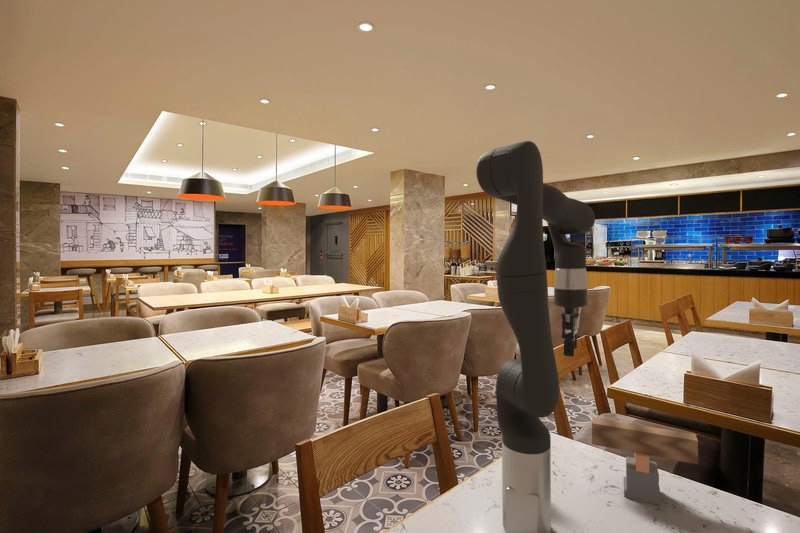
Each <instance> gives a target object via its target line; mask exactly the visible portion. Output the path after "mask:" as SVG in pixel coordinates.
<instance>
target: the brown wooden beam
mask: <svg viewBox="0 0 800 533" xmlns="http://www.w3.org/2000/svg"><path fill="white" fill-rule="evenodd" d="M591 445H594V446H600V447H605V448H610V449H616V450H621V451H626V452H631V453H634V454H635V453H640V454H646V455H649V456H652V457H656V458H663V459H666V460H667V459H668V460H673V461H679V462H682V463H688V464H694V465H698V464H699V440H698V438H697V435H696V433H690V432H683V431H680V430H679V431H678V430H672V429H666V428H659V427H653V426H647V425H643V424H642V425H640V424H634V423H629V422H624V421H616V420H611V419H604V418H598V417H592V419H591Z"/></svg>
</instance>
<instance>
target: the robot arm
mask: <svg viewBox="0 0 800 533" xmlns="http://www.w3.org/2000/svg"><path fill="white" fill-rule="evenodd" d="M476 179H477V182H478V185H479V186H480V189H481V190H482V191H483V192H484V193H485V194H487V196H490V197H493V198H495V199H498V200H502V201H505V202H507V203H510V204H512V205H516V215H515V220H514V223H513V226H512V229H511V231H510V233H509V235H508V237H507V240H506V241H505V243H504V245H503V247H502V249H501V251H500V253H499V256H498V258H497V262H496V264H495V274H496V288H497V295H498V296H497V297H498V301H499V305H500V307H501V309H502V311H503V314H504V315H505V318H506V320H507V322H508V324H509V325H510V328H511V330H512V332H513V334H514V336H515V338H516V341H517V343H518V349H519V354H520V359H517V358H515V359H510V360H508V361H506V362H505V363H503V364H502V366H501V367H500V369H499V371H498V373H497V376H496V383H495V400H496V417H497V424H498V425H497V426H498V428H499V431H500V433H502V435H501V463H502V464H501V480H502V482H501V483H502V487H501V488H502V489H501V491H502V494H501V495H502V503H501V504H502V526H503V529H504V530H505V533H552V504H551V503H552V499H551V498H552V496H551V495H552V487H551V484H552V482H551V481H552V480H551V478H552V477H551V476H552V474H551V470H552V469H551V466H552V465H551V464H552V463H551V460H552V459H551V457H552V456H551V453H552V452H551V450H552V448H551V447H552V445H551V440H552V438H551V433H550V431H549V429H548V427H547V426H546V424H544V422H543V421H542V420H541V418H547V417H549V416H550V415H551V414H553V413H554V411H555V409H556V408H557V405H558V403H559V399H560V398H559V397H560V378H559V372H558V367H557V361H556V356H555V355H556V354H555V351H554V345H553V339H552V338H553V337H552V329H551V319H550V308H549V306H550V305H549V290H548V289H549V288H548V287H549V286H548V273H547V263H546V262H547V261H546V254H545V242H544V240H545V239H544V227H543V226H544V224H543V222H544V221H546V222H547V227H548V228H547V229H548V231H549V234H550V238H551V241H552V244H553V245H552V246H553V249H554V262H555V263H554V268H555V269H554V275H553V276H554V277H553V279H554V280H553V285H554V286H553V291H554V292H553V302H554V303H553V304H554V305H555V306H557V307H561V308H562V307H563V308H564V312H562V313H561V315H560V320H561V338H562V340H563V356H565V357H574V356H575V349H577V348H578V333H579V328H580V319H581V318H580V317H581V313H580V312H579V311H580V310H579V308H585V307H587V306H588V274H587V273H588V272H587V250H586V247H585V246H584V245H583V244H579V243H574V242H571V241H569V239H568V238H567V235H582V234H586V233H587V232H590V231H591V230H592V228H593V227H594V225H595V221H596V217H595V216H596V215H595V212H594V210H593V209H592V207H591V205H590V206H589V205H588V204H587V203H585V202H583V201H581V200H578V199H575V198H571V197H568V196H567V195H566V194H564V192H562V191H561V190H560V189H558V188H557V187H556V186H553V185H550V184H548V183H544V170H543V160H542V155H541V152H540V150H539V147H538V146H537V145H536V143H535V142H533V141H531V140H523V141H519V142H515V143H512V144H508V145H504V146H500V147H497V148H492V149H489V150H487V151H486V152H483V154H482V155H480V157H479V158H478V159H477V163H476Z"/></svg>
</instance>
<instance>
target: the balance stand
mask: <svg viewBox="0 0 800 533" xmlns="http://www.w3.org/2000/svg"><path fill="white" fill-rule="evenodd" d="M623 497H624V498H628V499H632V500H637V501H641V502H645V503H649V504H652V505H653V504H654V505H658V506H662V505H663V504H662V501H663V500H662V495H661V490H660V474H659V470H658V465H657V461H651V460H650V455H646V454H640V453H635V452H634V457H631V456H625V476H623Z"/></svg>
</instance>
